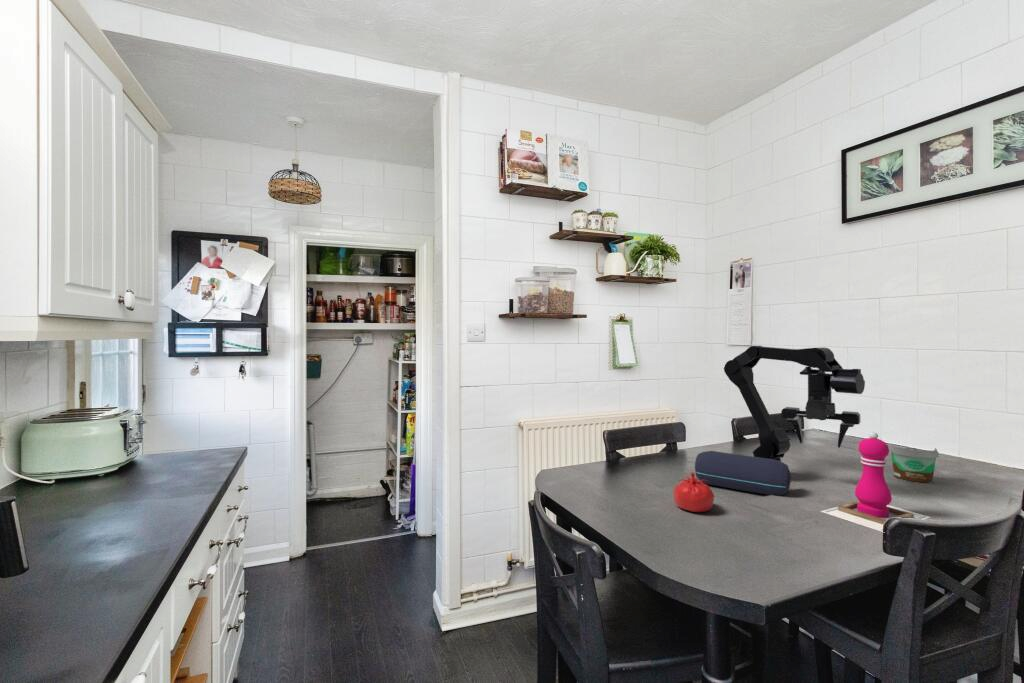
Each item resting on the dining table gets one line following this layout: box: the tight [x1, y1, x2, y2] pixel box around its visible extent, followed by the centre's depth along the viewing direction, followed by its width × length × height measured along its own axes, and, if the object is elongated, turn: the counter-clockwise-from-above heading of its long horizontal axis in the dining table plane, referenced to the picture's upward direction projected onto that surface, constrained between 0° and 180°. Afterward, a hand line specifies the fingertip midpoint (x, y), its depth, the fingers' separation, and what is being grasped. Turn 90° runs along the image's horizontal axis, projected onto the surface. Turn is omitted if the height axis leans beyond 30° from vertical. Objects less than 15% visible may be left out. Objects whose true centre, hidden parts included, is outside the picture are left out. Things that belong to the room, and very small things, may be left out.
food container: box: [888, 444, 940, 484], centre depth 146 cm, size 12×6×10 cm, turn 68°
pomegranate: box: [672, 471, 715, 513], centre depth 123 cm, size 10×10×9 cm
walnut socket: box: [837, 500, 914, 525], centre depth 117 cm, size 11×11×1 cm
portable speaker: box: [694, 450, 792, 497], centre depth 139 cm, size 25×10×10 cm, turn 54°
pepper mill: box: [854, 431, 893, 518], centre depth 117 cm, size 7×7×20 cm
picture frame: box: [820, 504, 932, 533], centre depth 117 cm, size 20×14×1 cm
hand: (819, 445), depth 137 cm, fingers open, 9 cm apart
